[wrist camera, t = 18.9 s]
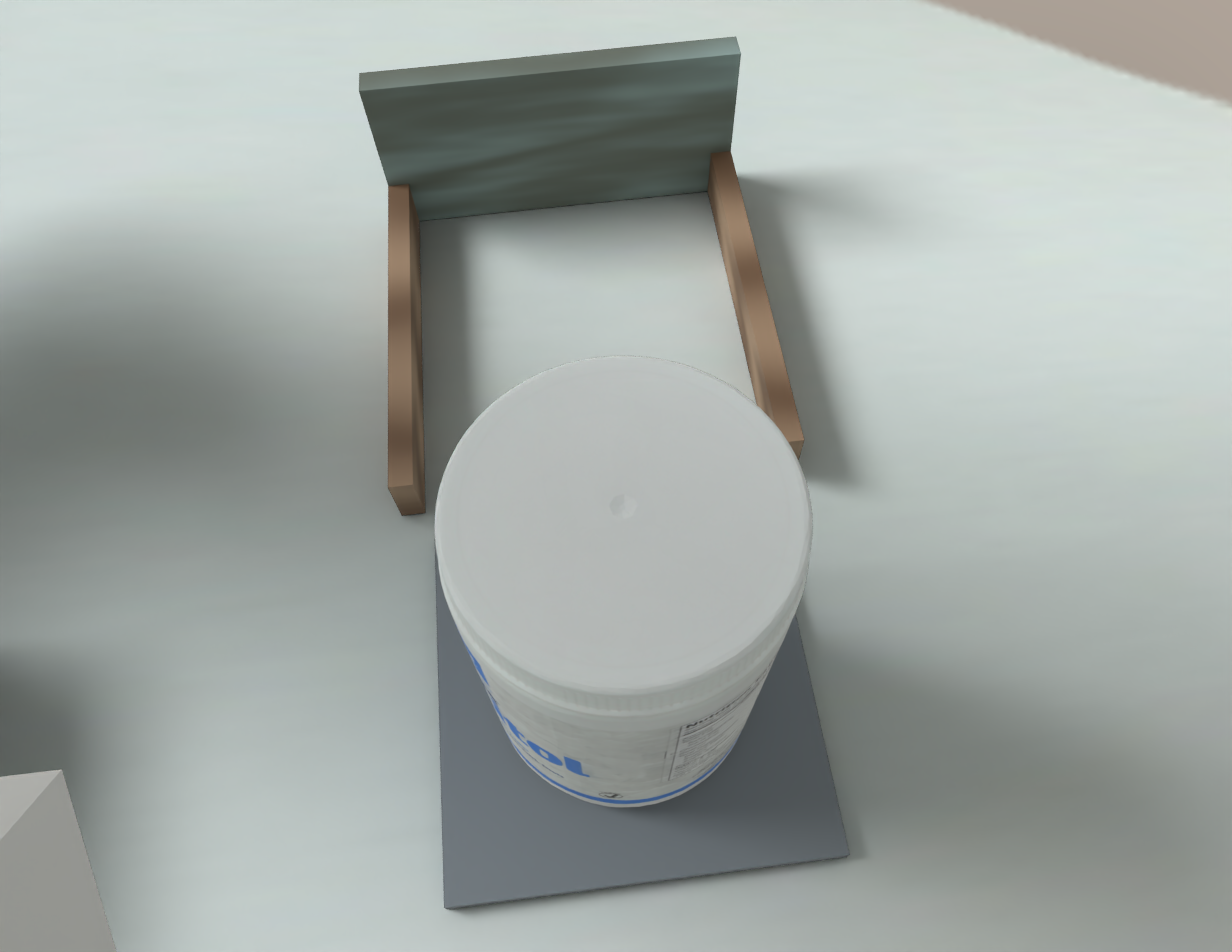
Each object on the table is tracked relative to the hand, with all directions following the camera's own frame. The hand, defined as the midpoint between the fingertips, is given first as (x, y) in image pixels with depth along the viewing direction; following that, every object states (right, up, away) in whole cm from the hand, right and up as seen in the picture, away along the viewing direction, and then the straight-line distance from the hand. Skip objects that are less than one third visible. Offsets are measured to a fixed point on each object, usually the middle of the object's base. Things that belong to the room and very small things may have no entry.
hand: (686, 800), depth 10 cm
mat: (0, -4, +26) cm, 26 cm away
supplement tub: (0, -4, +25) cm, 26 cm away
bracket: (-3, +11, +34) cm, 36 cm away
